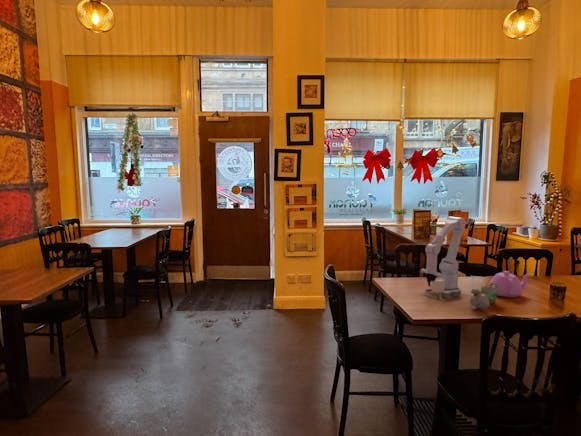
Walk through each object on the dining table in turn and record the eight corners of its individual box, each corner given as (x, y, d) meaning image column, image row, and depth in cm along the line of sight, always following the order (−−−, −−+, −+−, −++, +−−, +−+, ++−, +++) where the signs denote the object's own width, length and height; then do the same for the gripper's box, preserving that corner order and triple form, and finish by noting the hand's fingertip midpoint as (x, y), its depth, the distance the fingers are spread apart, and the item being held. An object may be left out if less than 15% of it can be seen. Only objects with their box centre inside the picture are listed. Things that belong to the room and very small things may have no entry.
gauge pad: (441, 290, 228) (442, 279, 227) (444, 291, 226) (444, 280, 225) (424, 293, 221) (425, 282, 220) (426, 294, 220) (427, 283, 219)
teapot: (537, 302, 211) (539, 277, 210) (494, 299, 216) (496, 275, 214) (522, 290, 233) (523, 268, 231) (483, 288, 237) (485, 266, 235)
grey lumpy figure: (492, 314, 190) (493, 290, 191) (471, 312, 192) (472, 288, 193) (487, 311, 200) (488, 288, 200) (467, 309, 202) (468, 286, 203)
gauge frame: (441, 290, 231) (441, 284, 230) (461, 297, 218) (461, 290, 217) (422, 293, 223) (422, 287, 223) (442, 301, 211) (442, 294, 210)
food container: (491, 307, 201) (493, 289, 200) (479, 304, 206) (481, 286, 205) (501, 303, 209) (503, 285, 208) (490, 300, 214) (491, 282, 212)
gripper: (417, 262, 232) (416, 284, 233) (436, 267, 219) (435, 290, 221) (426, 261, 235) (424, 282, 237) (445, 266, 222) (443, 289, 224)
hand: (430, 286), depth 229 cm, fingers closed
